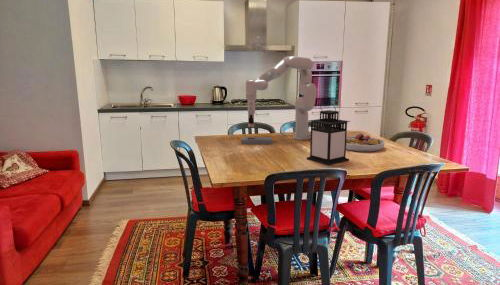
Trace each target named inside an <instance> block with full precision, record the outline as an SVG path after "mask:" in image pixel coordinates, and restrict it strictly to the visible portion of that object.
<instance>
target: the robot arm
mask: <svg viewBox="0 0 500 285" xmlns="http://www.w3.org/2000/svg"><path fill="white" fill-rule="evenodd" d="M313 63H314V62H313V61H312V59H311V58H309V57H301V56H293V55H288V56H285V57H283V58H282V59H281V60H279V61H278V63H276V64H274V66H273V67H271V68H270V69H268V70H267V71H265V72H264V73H262V74H260V75H259V76H258V77H257V78H255V79H247V80H246V81H245V100H247V113H249V124H253V113H254V115H255V114H256V100H257V91H258V90H259V91H265V90H267V89H268V87H269V82H271V81H274V80H276V79H279V78H281V76H282V75H284V74H285V73H286V72H287V71H289V70H291V69H294V70H295V69H296V70H297V71H298V72H299V73H300V74H299V75H300V77H299V85H298V93H299V94H300V95H302V96H300V97H297V98H296V99H295V102H294V109H295V130H294V132H295V134H294V136H293V137H292V138H293V139H294V140H299V141H308V140H311V133H309V112H310V111H312V110H313V109H314V107H315V104H316V98H317V86H316V85H315V83H313V82H312V80H313V72H312V70H311V69H312V67H313Z"/></svg>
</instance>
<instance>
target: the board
mask: <svg viewBox="0 0 500 285" xmlns="http://www.w3.org/2000/svg"><path fill="white" fill-rule="evenodd" d="M240 142H241V144H240V145H273V137H272V136H242V137H241V140H240Z"/></svg>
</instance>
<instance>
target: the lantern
mask: <svg viewBox="0 0 500 285" xmlns="http://www.w3.org/2000/svg"><path fill="white" fill-rule="evenodd" d="M324 102H325V100H322V101H321V102H320V107H319V108H320V111H318V112H319V118H318V119H311V120H309V119H308V122H310V134H311V136H310V142H309V143H310V144H309V146H310V147H309V149H310V150H309V151H310V152H309V153H310V154H309V156H307V157H306V160H307V161H311V162H315V163H318V164H319V163H320V164H323V165H326V166H332V165H337V164H342V163H345V162H348V161H350V159H349V158H347V157H346V156H347V155H346V153H347V152H346V151H347V150H346V142H347V141H346V137H347V135H348V134H347V130H348V123H349V122H351V120H344V119H339V115H340V111H339V110H337V109H336V106H335V105H334V104H333V103H332V102H330V101H329V100H326V102H327V103H330V104H331V105H332V106H333V108H334V109H335V110H330V109H329V110H328V109H327V110H322V103H324Z"/></svg>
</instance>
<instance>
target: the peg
mask: <svg viewBox="0 0 500 285" xmlns="http://www.w3.org/2000/svg"><path fill="white" fill-rule="evenodd" d="M247 113H248V112H247ZM247 119H248V120H247V124H248V125H247V127H248V128H254V127H255V114H254V113H253V124H249V113H248V115H247Z"/></svg>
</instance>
